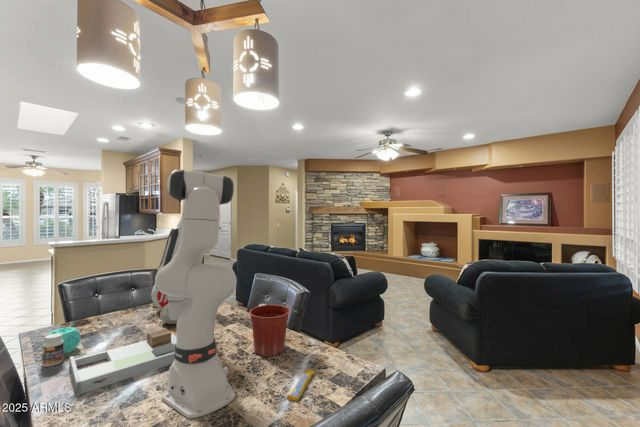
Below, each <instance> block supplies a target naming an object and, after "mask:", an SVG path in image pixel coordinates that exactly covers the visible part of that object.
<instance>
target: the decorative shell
mask: <svg viewBox="0 0 640 427" xmlns="http://www.w3.org/2000/svg"><path fill="white" fill-rule="evenodd" d="M159 314H160V315H159V316H160V317H159V319H160V320H161V322H162V323H164V324H169V325H177V321H178V320H170V318H169V312H168V304H167V305H165V306H164V308H163V309H160V312H159Z"/></svg>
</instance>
